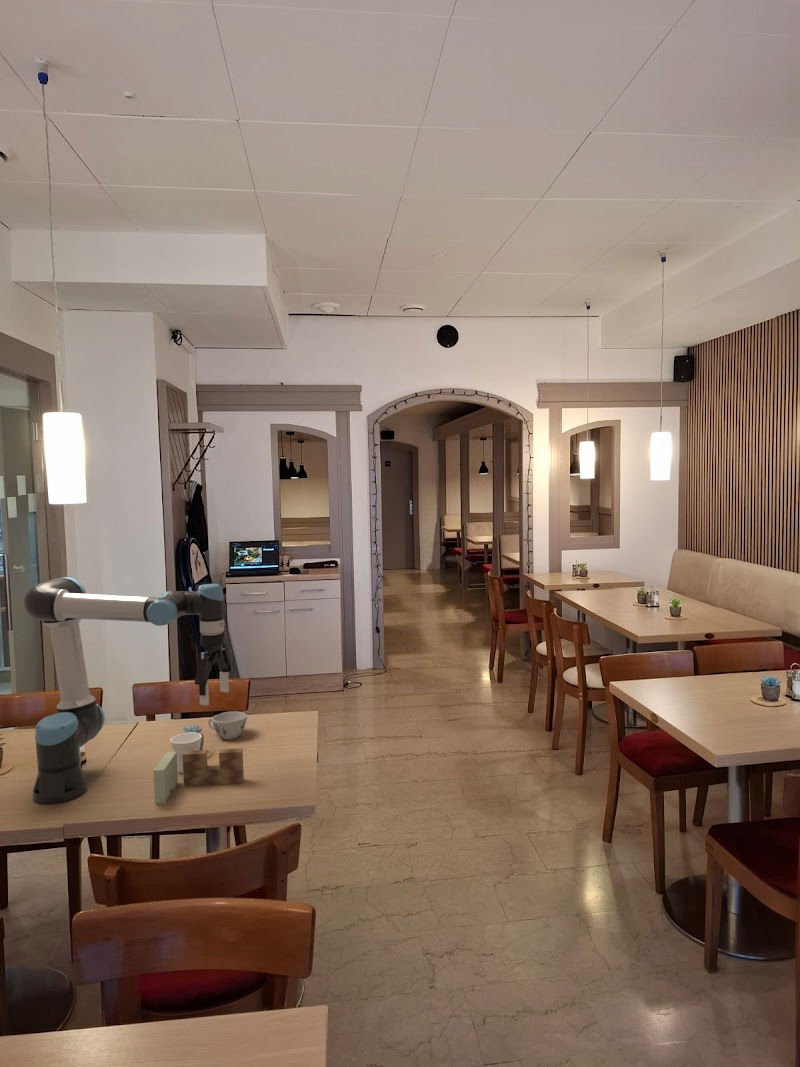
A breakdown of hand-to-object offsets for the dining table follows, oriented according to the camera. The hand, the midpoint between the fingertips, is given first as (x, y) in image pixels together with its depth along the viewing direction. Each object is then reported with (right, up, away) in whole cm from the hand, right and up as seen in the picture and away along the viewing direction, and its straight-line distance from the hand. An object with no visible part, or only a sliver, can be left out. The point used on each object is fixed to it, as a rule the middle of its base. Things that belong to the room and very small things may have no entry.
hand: (214, 698), depth 226 cm
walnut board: (+1, -26, -4) cm, 26 cm away
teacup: (-4, -23, +35) cm, 42 cm away
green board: (-12, -26, -11) cm, 31 cm away
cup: (-10, -25, +6) cm, 28 cm away
